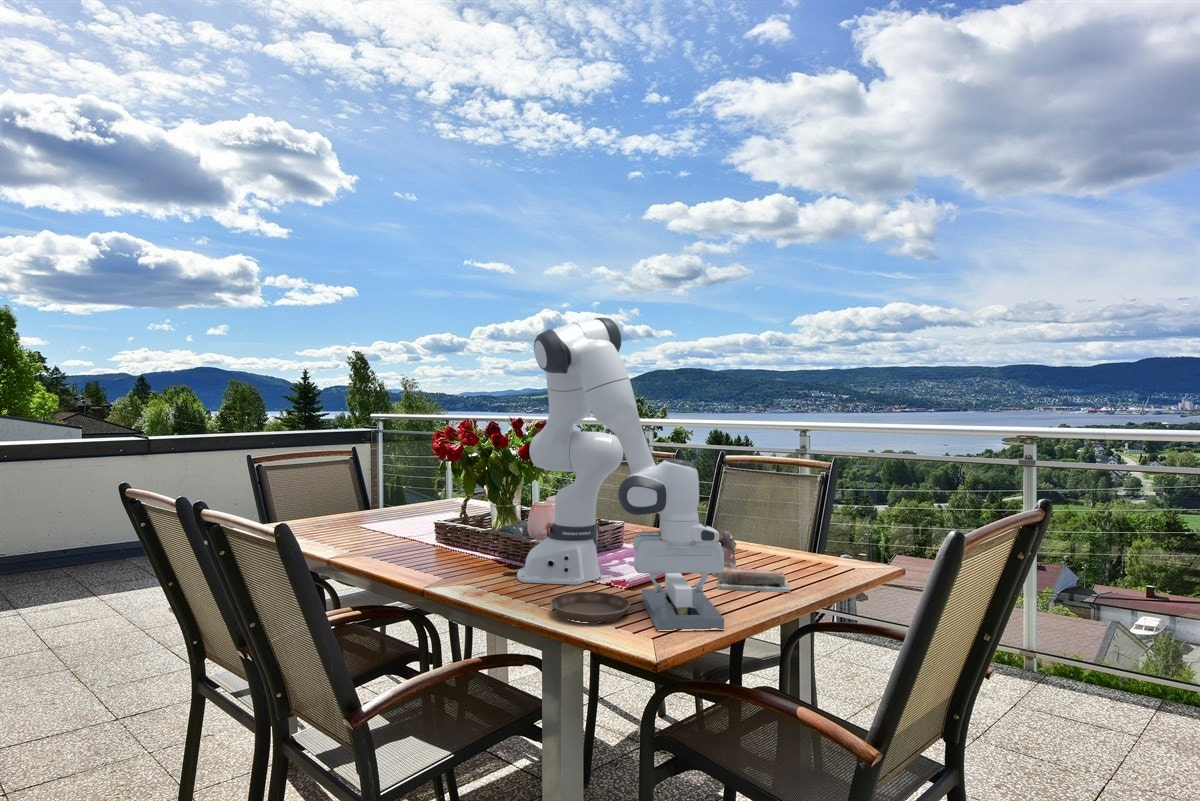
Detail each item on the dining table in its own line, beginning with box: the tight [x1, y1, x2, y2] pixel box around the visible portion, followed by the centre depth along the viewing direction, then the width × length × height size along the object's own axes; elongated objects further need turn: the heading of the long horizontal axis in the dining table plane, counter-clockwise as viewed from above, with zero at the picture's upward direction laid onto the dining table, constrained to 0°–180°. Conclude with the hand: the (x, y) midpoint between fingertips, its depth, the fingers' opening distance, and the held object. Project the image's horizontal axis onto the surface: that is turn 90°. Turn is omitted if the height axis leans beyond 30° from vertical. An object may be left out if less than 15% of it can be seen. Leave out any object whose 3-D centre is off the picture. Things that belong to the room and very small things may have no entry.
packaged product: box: [717, 567, 791, 593], centre depth 189 cm, size 18×5×10 cm
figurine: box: [711, 530, 738, 578], centre depth 201 cm, size 7×7×12 cm
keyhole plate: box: [641, 588, 725, 631], centre depth 164 cm, size 24×14×2 cm, turn 5°
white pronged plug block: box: [664, 573, 693, 615], centre depth 166 cm, size 14×4×7 cm, turn 5°
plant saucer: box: [550, 591, 631, 623], centre depth 164 cm, size 18×18×3 cm
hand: (678, 592), depth 166 cm, fingers open, 8 cm apart
